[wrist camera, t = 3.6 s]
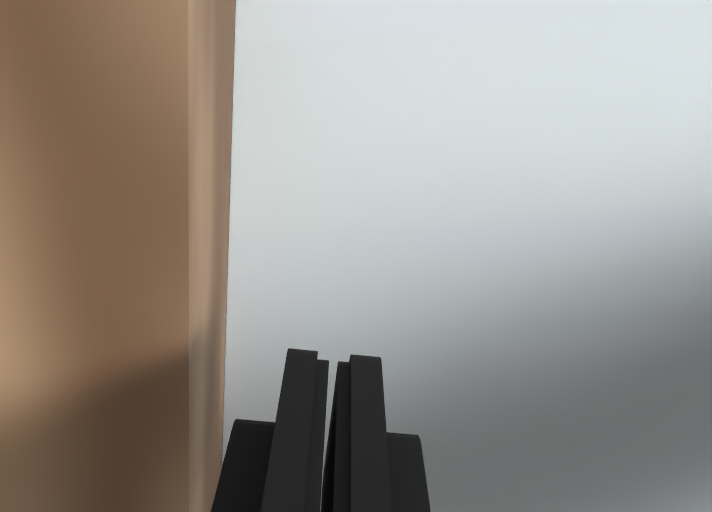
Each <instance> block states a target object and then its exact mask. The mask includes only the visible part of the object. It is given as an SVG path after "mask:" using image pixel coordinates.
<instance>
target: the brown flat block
mask: <svg viewBox="0 0 712 512" xmlns="http://www.w3.org/2000/svg"><path fill="white" fill-rule="evenodd" d="M235 11H236V0H0V512H211V509H212V505H213V501H214V497H215V493H216V489H217V485H218V481H219V478H220V474H221V470H222V443H223V410H224V377H225V344H226V310H227V277H228V244H229V210H230V177H231V144H232V111H233V77H234V44H235Z"/></svg>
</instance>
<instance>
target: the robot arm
mask: <svg viewBox="0 0 712 512" xmlns="http://www.w3.org/2000/svg"><path fill="white" fill-rule="evenodd" d="M317 355H318V351H309V350H299V349H288V351H287V357H286V363H285V369H284V375H283V381H282V387H281V393H280V398H279V404H278V410H277V416H276V422H263V421H252V420H241V419H236V420H235V421H234V424H233V427H232V431H231V435H230V439H229V443H228V446H227V450H226V454H225V458H224V462H223V466H222V470H221V474H220V478H219V481H218V485H217V489H216V493H215V497H214V501H213V505H212V509H211V512H320V501H321V485H322V468H323V451H324V435H325V418H326V401H327V385H328V368H329V360H318V359H317ZM321 512H430V504H429V497H428V490H427V483H426V476H425V469H424V462H423V455H422V447H421V442H420V438H419V436H418V435H410V434H399V433H387V432H386V420H385V406H384V392H383V377H382V363H381V358H380V357H372V356H361V355H350V360H349V362H339V361H338V366H337V373H336V381H335V389H334V397H333V405H332V412H331V420H330V428H329V436H328V443H327V451H326V459H325V467H324V475H323V486H322V501H321Z"/></svg>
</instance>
